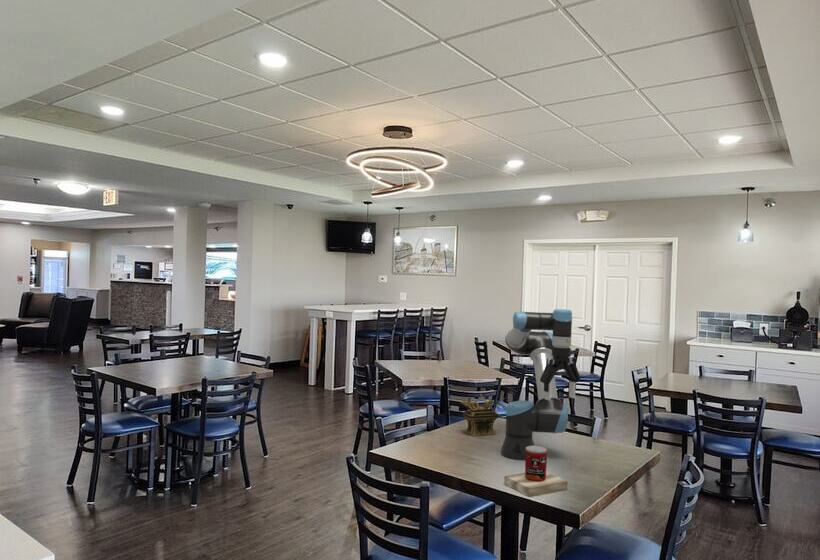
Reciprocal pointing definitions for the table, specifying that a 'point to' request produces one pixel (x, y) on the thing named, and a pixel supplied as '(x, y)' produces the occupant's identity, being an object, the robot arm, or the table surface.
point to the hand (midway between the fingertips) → (559, 398)
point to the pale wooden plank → (535, 484)
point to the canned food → (535, 463)
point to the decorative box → (480, 418)
